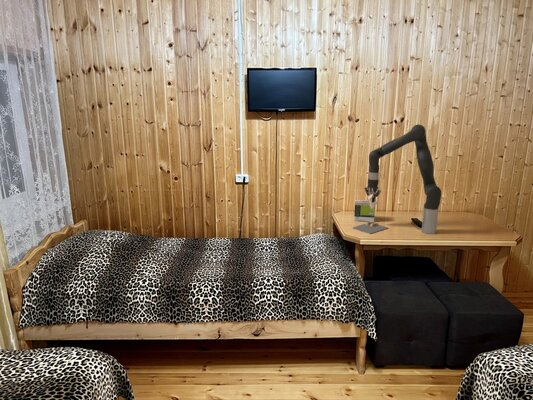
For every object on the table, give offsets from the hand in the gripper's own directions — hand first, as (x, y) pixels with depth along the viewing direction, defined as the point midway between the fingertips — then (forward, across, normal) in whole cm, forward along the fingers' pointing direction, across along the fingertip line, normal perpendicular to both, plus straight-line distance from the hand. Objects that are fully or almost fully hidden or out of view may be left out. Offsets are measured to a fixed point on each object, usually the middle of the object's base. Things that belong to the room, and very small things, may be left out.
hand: (371, 201), depth 275 cm
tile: (+3, 0, -3) cm, 4 cm away
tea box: (+19, +13, -8) cm, 24 cm away
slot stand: (+18, 0, -2) cm, 18 cm away
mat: (+18, -4, +4) cm, 19 cm away
